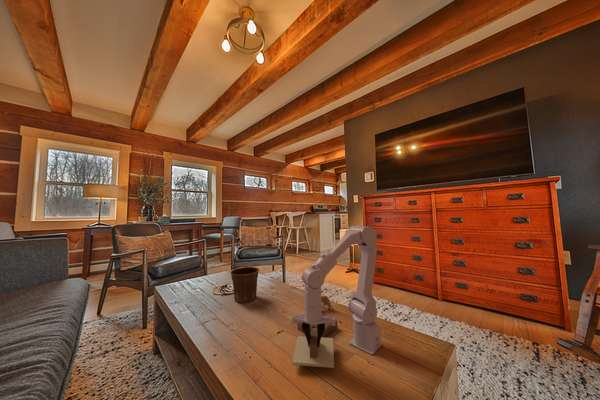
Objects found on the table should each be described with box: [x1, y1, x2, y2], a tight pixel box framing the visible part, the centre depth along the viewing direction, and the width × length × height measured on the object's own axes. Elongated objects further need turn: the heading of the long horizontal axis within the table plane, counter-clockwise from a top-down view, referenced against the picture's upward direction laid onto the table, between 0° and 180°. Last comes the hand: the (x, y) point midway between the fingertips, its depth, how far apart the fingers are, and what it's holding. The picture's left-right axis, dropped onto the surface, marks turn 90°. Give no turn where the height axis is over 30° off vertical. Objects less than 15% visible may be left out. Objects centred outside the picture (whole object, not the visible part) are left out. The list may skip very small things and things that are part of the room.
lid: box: [291, 330, 335, 369], centre depth 72 cm, size 13×13×5 cm
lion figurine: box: [321, 294, 333, 311], centre depth 108 cm, size 15×5×9 cm, turn 110°
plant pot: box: [230, 266, 260, 304], centre depth 123 cm, size 16×16×16 cm
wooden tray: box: [297, 319, 339, 338], centre depth 90 cm, size 12×12×3 cm
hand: (314, 345), depth 72 cm, fingers closed on lid, 2 cm apart
